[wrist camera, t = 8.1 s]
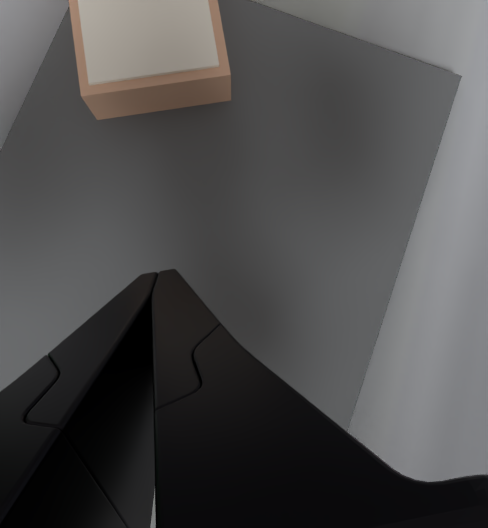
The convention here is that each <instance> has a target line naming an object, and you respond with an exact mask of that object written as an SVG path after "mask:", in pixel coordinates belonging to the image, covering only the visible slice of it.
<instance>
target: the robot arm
mask: <svg viewBox="0 0 488 528" xmlns="http://www.w3.org/2000/svg"><path fill="white" fill-rule="evenodd" d="M154 489H155V505H156V528H488V475H473V476H465V477H460V478H454V479H449V480H444V481H436V482H425V481H419V480H414V479H412V478H409V477H406V476H404V475H402V474H400V473H399V472H397V471H396V470H394V469H393V468H391V467H390V466H389V465H388V464H386V463H385V462H384V461H383V460H381V459H380V458H379V457H378V456H377V455H375V454H374V453H373V452H372V451H370V450H369V449H368V448H367V447H365V446H364V445H363V444H362V443H360V442H359V441H358V440H357V439H356V438H354V437H353V436H352V435H351V434H349V433H348V432H347V431H346V430H344V429H343V428H342V427H341V426H340V425H338V424H337V423H336V422H335V421H333V420H332V419H331V418H330V417H328V416H327V415H326V414H325V413H323V412H322V411H321V410H320V409H319V408H317V407H316V406H315V405H314V404H312V403H311V402H310V401H309V400H307V399H306V398H305V397H304V396H303V395H301V394H300V393H299V392H298V391H296V390H295V389H294V388H293V387H291V386H290V385H289V384H288V383H286V382H285V381H284V380H283V379H282V378H280V377H279V376H278V375H277V374H275V373H274V372H273V371H272V370H270V369H269V368H268V367H267V366H266V365H264V364H263V363H262V362H261V361H259V360H258V359H257V358H256V357H254V356H253V355H252V354H251V353H250V352H249V351H248V350H246V349H245V348H244V347H243V346H242V345H241V344H240V343H239V342H238V341H237V340H236V339H235V338H234V337H233V336H232V335H231V334H230V332H229V331H228V330H227V329H226V328H225V326H224V325H222V323H221V322H220V321H219V320H218V319H217V317H216V316H215V315H214V314H213V313H212V311H211V310H210V309H209V308H208V307H207V306H206V304H205V303H204V302H203V301H202V300H201V298H200V297H199V296H198V295H197V294H196V292H195V291H194V290H193V289H192V288H191V286H190V285H189V284H188V283H187V282H186V280H185V279H184V278H183V277H182V276H181V274H180V273H179V272H178V271H177V270H176V269H169V270H163V271H160V272H159V274H158V272H151V273H145V274H141V275H140V276H138V277H137V278H136V279H135V280H134V281H133V282H131V283H130V284H129V285H128V286H127V287H126V288H124V289H123V290H122V291H121V292H120V293H118V294H117V295H116V296H115V297H114V298H113V299H111V300H110V301H109V302H108V303H107V304H106V305H104V306H103V307H102V308H101V309H100V310H98V311H97V312H96V313H95V314H94V315H93V316H91V317H90V318H89V319H88V320H87V321H86V322H84V323H83V324H82V325H81V326H80V327H78V328H77V329H76V330H75V331H74V332H73V333H71V334H70V335H69V336H68V337H67V338H66V339H64V340H63V341H62V342H61V343H60V344H58V345H57V346H56V347H55V348H54V349H53V350H51V351H50V352H49V353H48V355H45V356H43V357H42V358H41V359H40V360H39V361H38V362H36V363H35V364H34V365H33V366H32V367H30V368H29V369H28V370H27V371H25V372H24V373H23V374H22V375H21V376H19V377H18V378H17V379H16V380H14V381H13V382H12V383H11V384H9V385H8V386H7V387H5V388H4V389H3V390H1V391H0V528H150V524H151V515H152V507H153V498H154Z"/></svg>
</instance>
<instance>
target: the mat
mask: <svg viewBox="0 0 488 528" xmlns="http://www.w3.org/2000/svg"><path fill="white" fill-rule="evenodd" d="M218 5H219V11H220V16H221V22H222V28H223V33H224V39H225V45H226V50H227V56H228V62H229V67H230V73H231V101H224V102H217V103H211V104H204V105H197V106H190V107H183V108H177V109H170V110H163V111H156V112H149V113H143V114H136V115H129V116H122V117H115V118H109V119H102V120H97V119H96V117H95V116H94V115H93V113H92V112H91V110H90V109H89V107H88V106H87V104H86V103H85V102H84V100H83V99H82V97H81V93H80V85H79V77H78V69H77V62H76V54H75V46H74V38H73V31H72V23H71V15H70V7H68V10H67V12H66V14H65V16H64V18H63V20H62V22H61V24H60V26H59V29H58V31H57V33H56V35H55V37H54V39H53V41H52V43H51V45H50V48H49V50H48V52H47V54H46V56H45V58H44V60H43V62H42V65H41V67H40V69H39V71H38V73H37V75H36V77H35V79H34V81H33V84H32V86H31V88H30V90H29V92H28V94H27V96H26V98H25V100H24V103H23V105H22V107H21V109H20V111H19V113H18V115H17V117H16V120H15V122H14V124H13V126H12V128H11V130H10V132H9V134H8V136H7V139H6V141H5V143H4V145H3V147H2V149H1V151H0V391H1V390H3V389H4V388H5V387H7V386H8V385H9V384H11V383H12V382H13V381H14V380H16V379H17V378H18V377H19V376H21V375H22V374H23V373H24V372H25V371H27V370H28V369H29V368H30V367H32V366H33V365H34V364H35V363H36V362H38V361H39V360H40V359H41V358H42V357H43V356H45V355H48V353H49V352H50V351H51V350H53V349H54V348H55V347H56V346H57V345H58V344H60V343H61V342H62V341H63V340H64V339H66V338H67V337H68V336H69V335H70V334H71V333H73V332H74V331H75V330H76V329H77V328H78V327H80V326H81V325H82V324H83V323H84V322H86V321H87V320H88V319H89V318H90V317H91V316H93V315H94V314H95V313H96V312H97V311H98V310H100V309H101V308H102V307H103V306H104V305H106V304H107V303H108V302H109V301H110V300H111V299H113V298H114V297H115V296H116V295H117V294H118V293H120V292H121V291H122V290H123V289H124V288H126V287H127V286H128V285H129V284H130V283H131V282H133V281H134V280H135V279H136V278H137V277H138V276H140V275H141V274H145V273H151V272H158V274H159V272H160V271H163V270H169V269H176V270H177V271H178V272H179V273H180V274H181V276H182V277H183V278H184V279H185V280H186V282H187V283H188V284H189V285H190V286H191V288H192V289H193V290H194V291H195V292H196V294H197V295H198V296H199V297H200V298H201V300H202V301H203V302H204V303H205V304H206V306H207V307H208V308H209V309H210V310H211V311H212V313H213V314H214V315H215V316H216V317H217V319H218V320H219V321H220V322H221V323H222V325H224V326H225V328H226V329H227V330H228V331H229V332H230V334H231V335H232V336H233V337H234V338H235V339H236V340H237V341H238V342H239V343H240V344H241V345H242V346H243V347H244V348H245V349H246V350H248V351H249V352H250V353H251V354H252V355H253V356H254V357H256V358H257V359H258V360H259V361H261V362H262V363H263V364H264V365H266V366H267V367H268V368H269V369H270V370H272V371H273V372H274V373H275V374H277V375H278V376H279V377H280V378H282V379H283V380H284V381H285V382H286V383H288V384H289V385H290V386H291V387H293V388H294V389H295V390H296V391H298V392H299V393H300V394H301V395H303V396H304V397H305V398H306V399H307V400H309V401H310V402H311V403H312V404H314V405H315V406H316V407H317V408H319V409H320V410H321V411H322V412H323V413H325V414H326V415H327V416H328V417H330V418H331V419H332V420H333V421H335V422H336V423H337V424H338V425H340V426H341V427H342V428H343V429H344V430H346V431H347V430H348V427H349V424H350V421H351V417H352V414H353V411H354V408H355V405H356V402H357V399H358V396H359V393H360V390H361V386H362V383H363V380H364V377H365V374H366V371H367V368H368V365H369V362H370V359H371V355H372V352H373V349H374V346H375V343H376V340H377V337H378V334H379V331H380V328H381V324H382V321H383V318H384V315H385V312H386V309H387V306H388V303H389V300H390V297H391V294H392V290H393V287H394V284H395V281H396V278H397V275H398V272H399V269H400V266H401V263H402V259H403V256H404V253H405V250H406V247H407V244H408V241H409V238H410V235H411V232H412V228H413V225H414V222H415V219H416V216H417V213H418V210H419V207H420V204H421V201H422V197H423V194H424V191H425V188H426V185H427V182H428V179H429V176H430V173H431V170H432V166H433V163H434V160H435V157H436V154H437V151H438V148H439V145H440V142H441V139H442V135H443V132H444V129H445V126H446V123H447V120H448V117H449V114H450V111H451V108H452V104H453V101H454V98H455V95H456V92H457V89H458V86H459V83H460V80H461V77H462V76H460V75H458V74H455V73H452V72H449V71H446V70H444V69H441V68H438V67H435V66H432V65H430V64H427V63H424V62H421V61H418V60H416V59H413V58H410V57H407V56H404V55H402V54H399V53H396V52H393V51H390V50H388V49H385V48H382V47H379V46H376V45H374V44H371V43H368V42H365V41H362V40H360V39H357V38H354V37H351V36H348V35H346V34H343V33H340V32H337V31H334V30H332V29H329V28H326V27H323V26H320V25H317V24H315V23H312V22H309V21H306V20H303V19H301V18H298V17H295V16H292V15H289V14H287V13H284V12H281V11H278V10H275V9H273V8H270V7H267V6H264V5H261V4H259V3H256V2H253V1H250V0H218Z"/></svg>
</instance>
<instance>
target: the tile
mask: <svg viewBox="0 0 488 528" xmlns="http://www.w3.org/2000/svg"><path fill="white" fill-rule="evenodd" d="M69 7H70V15H71V23H72V31H73V38H74V46H75V54H76V62H77V69H78V77H79V85H80V93H81V97H82V99H83V100H84V102H85V103H86V104H87V106H88V107H89V109H90V110H91V112H92V113H93V115H94V116H95V117H96V119H97V120H102V119H109V118H115V117H122V116H129V115H136V114H143V113H149V112H156V111H163V110H170V109H177V108H183V107H190V106H197V105H204V104H211V103H217V102H224V101H231V73H230V67H229V62H228V56H227V50H226V45H225V39H224V33H223V28H222V22H221V16H220V11H219V5H218V0H69Z"/></svg>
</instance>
